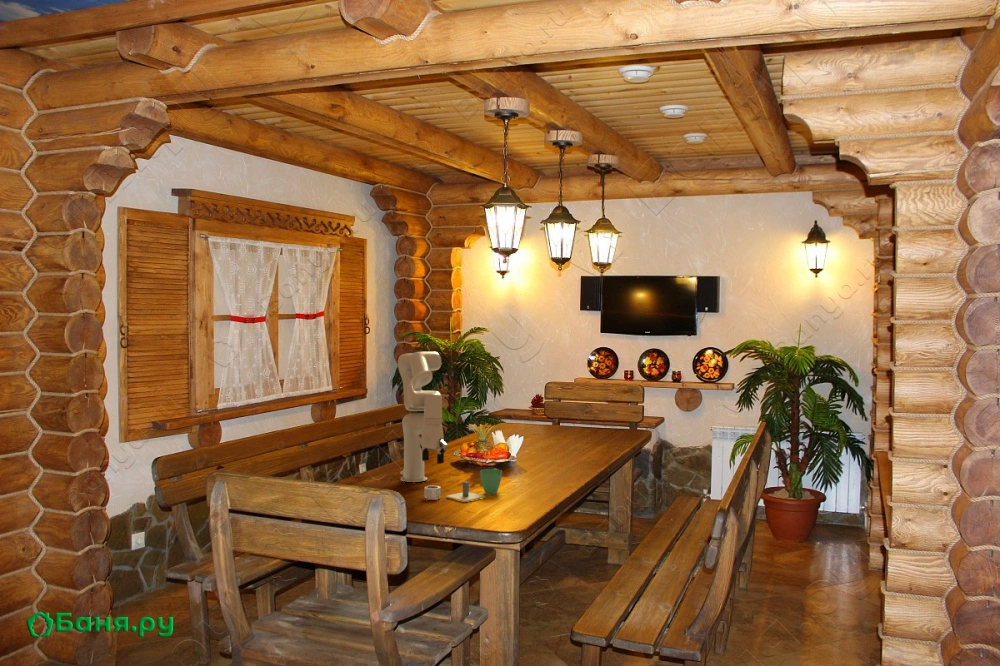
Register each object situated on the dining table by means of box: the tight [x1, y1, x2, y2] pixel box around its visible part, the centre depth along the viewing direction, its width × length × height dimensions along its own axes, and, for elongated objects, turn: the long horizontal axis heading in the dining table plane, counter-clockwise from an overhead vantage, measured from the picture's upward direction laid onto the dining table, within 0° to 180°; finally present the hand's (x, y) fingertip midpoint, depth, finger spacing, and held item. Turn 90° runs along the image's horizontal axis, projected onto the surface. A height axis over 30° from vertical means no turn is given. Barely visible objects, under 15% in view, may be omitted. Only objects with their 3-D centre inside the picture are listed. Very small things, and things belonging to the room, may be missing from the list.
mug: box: [479, 468, 503, 495], centre depth 365 cm, size 15×10×10 cm
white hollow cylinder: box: [423, 484, 442, 499], centre depth 352 cm, size 7×7×5 cm
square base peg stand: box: [445, 481, 486, 502], centre depth 354 cm, size 12×12×7 cm
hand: (432, 461), depth 351 cm, fingers open, 9 cm apart
